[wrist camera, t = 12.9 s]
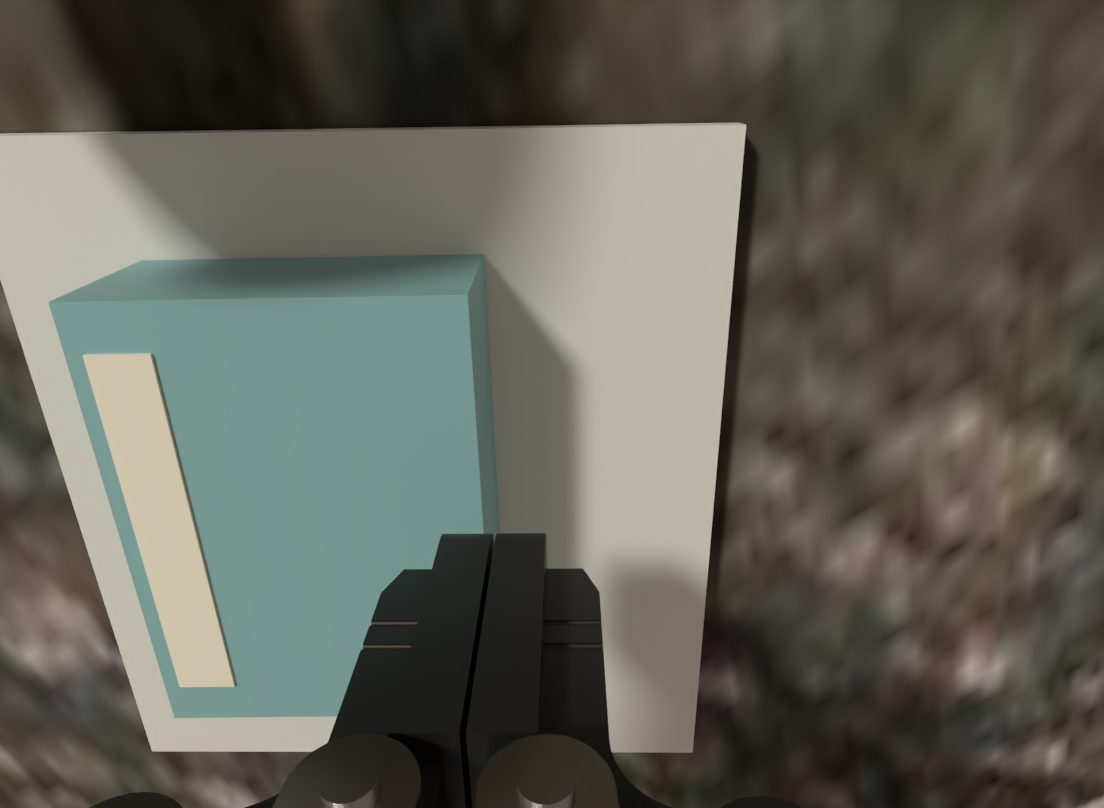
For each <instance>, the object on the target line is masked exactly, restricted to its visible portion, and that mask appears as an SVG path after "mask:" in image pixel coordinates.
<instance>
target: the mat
mask: <svg viewBox="0 0 1104 808" xmlns="http://www.w3.org/2000/svg"><path fill="white" fill-rule="evenodd" d="M745 134H746V125H745V124H742V123H678V124H611V125H543V126H475V127H408V128H340V129H272V130H205V131H137V132H69V133H2V134H0V280H1V283H2V286H3V289H4V292H5V295H6V298H7V302H8V305H9V308H10V311H11V314H12V317H13V320H14V323H15V326H16V330H17V333H18V336H19V339H20V342H21V345H22V348H23V351H24V354H25V358H26V361H27V364H28V367H29V370H30V373H31V376H32V379H33V382H34V386H35V389H36V392H37V395H38V398H39V401H40V404H41V407H42V410H43V414H44V417H45V420H46V423H47V426H48V429H49V432H50V435H51V438H52V442H53V445H54V448H55V451H56V454H57V457H58V460H59V463H60V466H61V469H62V473H63V476H64V479H65V482H66V485H67V488H68V491H69V494H70V497H71V501H72V504H73V507H74V510H75V513H76V516H77V519H78V522H79V525H80V529H81V532H82V535H83V538H84V541H85V544H86V547H87V550H88V553H89V557H90V560H91V563H92V566H93V569H94V572H95V575H96V578H97V581H98V585H99V588H100V591H101V594H102V597H103V600H104V603H105V606H106V609H107V613H108V616H109V619H110V622H111V625H112V628H113V631H114V634H115V637H116V641H117V644H118V647H119V650H120V653H121V656H122V659H123V662H124V665H125V669H126V672H127V675H128V678H129V681H130V684H131V687H132V690H133V693H134V697H135V700H136V703H137V706H138V709H139V712H140V715H141V718H142V721H143V725H144V728H145V731H146V734H147V737H148V740H149V743H150V746H151V749H152V751H247V752H313V751H314V750H316V749H318V748H319V747H321V746H323V745H325V744H326V743H328V741H329V738H330V735H331V732H332V730H333V727H334V724H335V721H336V718H337V716H328V717H231V718H174V715H173V712H172V708H171V705H170V702H169V698H168V695H167V692H166V689H165V685H164V682H163V679H162V675H161V672H160V669H159V665H158V662H157V659H156V656H155V652H154V649H153V646H152V642H151V639H150V636H149V633H148V629H147V626H146V623H145V619H144V616H143V613H142V609H141V606H140V603H139V600H138V596H137V593H136V590H135V586H134V583H133V580H132V577H131V573H130V570H129V567H128V563H127V560H126V557H125V553H124V550H123V547H122V544H121V540H120V537H119V534H118V530H117V527H116V524H115V520H114V517H113V514H112V511H111V507H110V504H109V501H108V497H107V494H106V491H105V488H104V484H103V481H102V478H101V474H100V471H99V468H98V464H97V461H96V458H95V455H94V451H93V448H92V445H91V441H90V438H89V435H88V431H87V428H86V425H85V422H84V418H83V415H82V412H81V408H80V405H79V402H78V399H77V395H76V392H75V389H74V385H73V382H72V379H71V375H70V372H69V369H68V366H67V362H66V359H65V356H64V352H63V349H62V346H61V343H60V339H59V336H58V333H57V329H56V326H55V323H54V319H53V316H52V313H51V310H50V306H49V303H48V302H49V301H52V300H54V299H56V298H58V297H61V296H63V295H65V294H67V293H70V292H72V291H74V290H76V289H78V288H81V287H83V286H85V285H87V284H90V283H92V282H94V281H96V280H99V279H101V278H103V277H105V276H108V275H110V274H112V273H114V272H116V271H119V270H121V269H123V268H125V267H128V266H130V265H132V264H134V263H137V262H139V261H141V260H192V259H247V258H302V257H357V256H412V255H467V254H484V263H485V281H486V299H487V316H488V334H489V352H490V369H491V387H492V404H493V422H494V440H495V457H496V475H497V493H498V510H499V528H500V533H546V535H547V568H548V569H573V568H583V569H584V571H585V572H586V573H587V575H588V576H589V578H590V579H591V581H592V582H593V583H594V585H595V586H596V588H597V589H598V591H599V593H600V608H601V625H602V637H603V652H604V667H605V682H606V697H607V712H608V727H609V741H610V747H611V751H612V752H638V753H693V742H694V730H695V719H696V707H697V695H698V684H699V672H700V660H701V648H702V637H703V625H704V613H705V602H706V590H707V578H708V567H709V555H710V543H711V532H712V520H713V508H714V496H715V485H716V473H717V461H718V450H719V438H720V426H721V415H722V403H723V391H724V380H725V368H726V356H727V345H728V333H729V321H730V309H731V298H732V286H733V274H734V263H735V251H736V239H737V228H738V216H739V204H740V193H741V181H742V169H743V157H744V146H745Z"/></svg>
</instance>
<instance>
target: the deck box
mask: <svg viewBox="0 0 1104 808" xmlns="http://www.w3.org/2000/svg"><path fill="white" fill-rule="evenodd" d="M48 303H49V306H50V310H51V313H52V316H53V319H54V323H55V326H56V329H57V333H58V336H59V339H60V343H61V346H62V349H63V352H64V356H65V359H66V362H67V366H68V369H69V372H70V375H71V379H72V382H73V385H74V389H75V392H76V395H77V399H78V402H79V405H80V408H81V412H82V415H83V418H84V422H85V425H86V428H87V431H88V435H89V438H90V441H91V445H92V448H93V451H94V455H95V458H96V461H97V464H98V468H99V471H100V474H101V478H102V481H103V484H104V488H105V491H106V494H107V497H108V501H109V504H110V507H111V511H112V514H113V517H114V520H115V524H116V527H117V530H118V534H119V537H120V540H121V544H122V547H123V550H124V553H125V557H126V560H127V563H128V567H129V570H130V573H131V577H132V580H133V583H134V586H135V590H136V593H137V596H138V600H139V603H140V606H141V609H142V613H143V616H144V619H145V623H146V626H147V629H148V633H149V636H150V639H151V642H152V646H153V649H154V652H155V656H156V659H157V662H158V665H159V669H160V672H161V675H162V679H163V682H164V685H165V689H166V692H167V695H168V698H169V702H170V705H171V708H172V712H173V715H174V718H231V717H328V716H337V715H338V713H339V710H340V707H341V704H342V701H343V699H344V696H345V693H346V690H347V687H348V684H349V682H350V679H351V676H352V673H353V670H354V668H355V665H356V662H357V659H358V656H359V653H360V651H361V650H363V642H364V639H365V637H366V634H367V631H368V628H369V626H371V620H372V617H373V614H374V611H375V608H376V606H377V603H378V600H379V597H380V594H381V592H382V591H383V590H384V589H385V588H386V587H387V586H388V585H389V584H390V583H391V582H392V581H393V580H394V579H395V578H396V577H397V576H398V575H399V574H400V573H401V572H402V571H403V570H404V569H432V567H433V563H434V559H435V556H436V552H437V548H438V545H439V541H440V538H441V535H442V534H493V536H494V541H495V536H496V534H497V533H500V528H499V510H498V493H497V475H496V457H495V440H494V422H493V404H492V387H491V369H490V352H489V334H488V316H487V299H486V281H485V263H484V254H467V255H412V256H357V257H302V258H247V259H192V260H141V261H139V262H137V263H134V264H132V265H130V266H128V267H125V268H123V269H121V270H119V271H116V272H114V273H112V274H110V275H108V276H105V277H103V278H101V279H99V280H96V281H94V282H92V283H90V284H87V285H85V286H83V287H81V288H78V289H76V290H74V291H72V292H70V293H67V294H65V295H63V296H61V297H58V298H56V299H54V300H52V301H49V302H48Z"/></svg>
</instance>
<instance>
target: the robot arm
mask: <svg viewBox="0 0 1104 808" xmlns="http://www.w3.org/2000/svg"><path fill="white" fill-rule="evenodd" d="M90 808H182V807H181V805H180V804H178V803H177V802H176V801H175V800H174V799H172V798H170V797H168V796H166V795H162V794H158V793H150V792H139V793H130V794H126V795H121V796H117V797H114V798H111V799H108V800H106V801H103V802H101V803H99V804H96V805H94V806H92V807H90ZM245 808H672V807H669V806H667V805H664V804H661V803H659V802H657V801H655V800H653V799H652V798H650V797H648V796H646V795H645V794H644V793H642V792H641V791H640V790H638V789H637V788H636V787H635V786H634V785H633V784H632V783H631V782H629V781H628V780H627V778H626V777H625V776H624V774H623V773H622V772H621V771H620V769H619V767H618V765H617V764H616V762H615V760H614V757H613V754H612V751H611V747H610V741H609V727H608V712H607V697H606V682H605V667H604V652H603V637H602V625H601V608H600V593H599V591H598V589H597V588H596V586H595V585H594V583H593V582H592V581H591V579H590V578H589V576H588V575H587V573H586V572H585V571H584V569H583V568H573V569H548V568H547V535H546V533H497V534H496V536H495V541H494V536H493V534H442V535H441V538H440V541H439V545H438V548H437V552H436V556H435V559H434V563H433V567H432V569H404V570H403V571H402V572H401V573H400V574H399V575H398V576H397V577H396V578H395V579H394V580H393V581H392V582H391V583H390V584H389V585H388V586H387V587H386V588H385V589H384V590H383V591H382V592H381V594H380V597H379V600H378V603H377V606H376V608H375V611H374V614H373V617H372V620H371V626H369V628H368V631H367V634H366V637H365V639H364V642H363V650H361V651H360V653H359V656H358V659H357V662H356V665H355V668H354V670H353V673H352V676H351V679H350V682H349V684H348V687H347V690H346V693H345V696H344V699H343V701H342V704H341V707H340V710H339V713H338V715H337V718H336V721H335V724H334V727H333V730H332V732H331V735H330V738H329V741H328V743H326V744H325V745H323V746H321V747H319V748H318V749H316V750H314V751H313V752H312V753H310V754H309V755H308V756H306V757H305V758H304V759H303V760H302V761H301V762H300V763H299V764H298V765H297V766H296V767H295V768H294V770H293V771H292V772H291V773H290V775H289V776H288V778H287V780H286V781H285V783H284V785H283V787H282V789H281V791H280V793H279V794H277V795H275V796H273V797H271V798H269V799H267V800H265V801H263V802H260V803H257V804H254V805H251V806H249V807H245ZM721 808H801V807H799V806H797V805H794V804H792V803H789V802H787V801H783V800H779V799H775V798H768V797H747V798H743V799H738V800H735V801H733V802H730V803H728V804H726V805H724V806H723V807H721Z"/></svg>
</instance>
